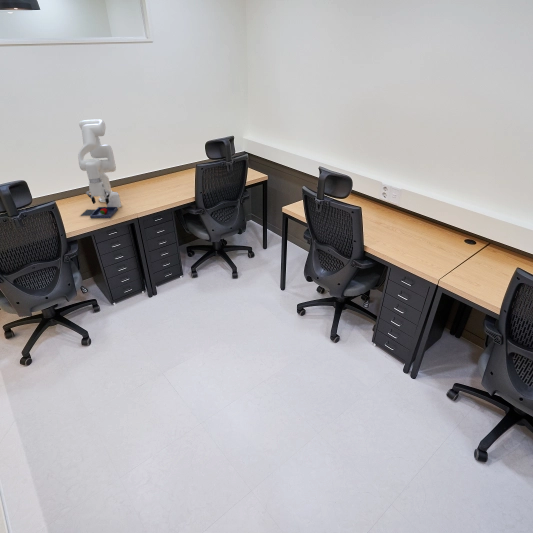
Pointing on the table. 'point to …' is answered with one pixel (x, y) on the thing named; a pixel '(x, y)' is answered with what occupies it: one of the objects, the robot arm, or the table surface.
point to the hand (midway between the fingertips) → (101, 203)
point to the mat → (87, 212)
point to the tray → (109, 214)
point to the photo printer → (114, 200)
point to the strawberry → (103, 211)
